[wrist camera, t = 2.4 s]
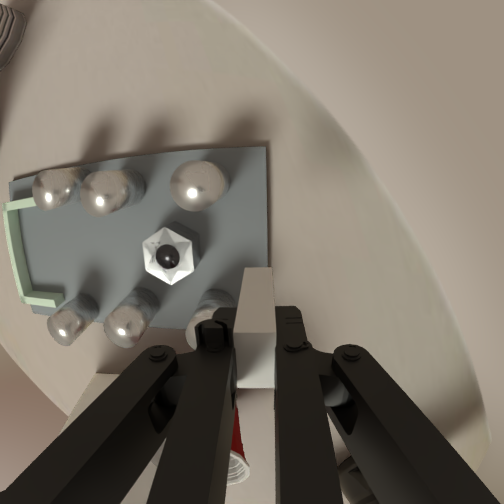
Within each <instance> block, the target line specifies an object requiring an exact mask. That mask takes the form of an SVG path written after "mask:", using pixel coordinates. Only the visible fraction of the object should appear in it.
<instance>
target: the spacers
mask: <svg viewBox="0 0 504 504" xmlns="http://www.w3.org/2000/svg"><path fill="white" fill-rule="evenodd" d="M229 186H230V177H229V174H228V172H227V170H226V169H225V168H224V167H223V166H222V165H220V164H218V163H215V162H208V161H198V160H192V161H187V162H185V163H183V164H181V165H180V166H179V167H177V169H176V170H175V171H174V173H173V174H172V177H171V180H170V192H171V196H172V198H173V200H174V201H175V203H176V204H177V205H178V206H180V207H181V208H183V209H185V210H188V211H194V212H196V211H202V210H204V209H206V208H208V207H210V206H211V205H212V204H214V203H215V202H217V201H218V200H219V199H221V198H222V197H223V196H225V194H226V193H227V191H228V189H229ZM145 193H146V182H145V179H144V177H143V176H142V175H141V174H140V173H139V172H138V171H136V170H133V169H127V170H111V171H98V172H93V173H91V172H90V171H89V170H88V169H87V168H85V167H74V168H61V169H50V170H43V171H41V172H39V173H38V174H37V175H36V177H35V179H34V182H33V186H32V195H33V199H34V202H35V204H36V205H37V206H38V208H40V209H41V210H44V211H47V210H51V209H54V208H58V207H62V206H65V205H69V204H73V203H77V202H81V203H82V206H83V208H84V209H85V210H86V212H87V213H89V214H90V215H92V216H94V217H103V216H105V215H108V214H111V213H114V212H117V211H120V210H123V209H126V208H129V207H131V206H135V205H137V204H138V203H140V202H141V201H142V199H143V198H144V196H145ZM159 306H160V305H159V301H158V298H157V296H156V295H155V294H154V293H153V292H152V291H151V290H149V289H147V288H144V287H138V288H135V289H133V290H132V291H131V292H130V293H129V294H128V295H127V296H126V297H125V298H124V299H123V300H122V301H121V302H120V303H119V304H118V306H117V307H116V308H115V309H114V310H113V311H112V312H111V313H110V314H109V315H108V316H107V317H106V318H105V320H104V331H105V333H106V335H107V337H108V338H109V339H110V340H111V341H112V342H113V343H114V344H116V345H118V346H120V347H123V348H131V347H133V346H135V345H136V343H137V342H138V341H139V339H140V338H141V336H142V335H143V333H144V332H145V330H146V329H147V327H148V326H149V324H150V323H151V321H152V320H153V319H154V317H155V316H156V314H157V313H158V311H159ZM219 307H235V301H234V299H233V297H232V296H231V295H230V294H229V293H228V292H226V291H225V290H222V289H210V290H208V291H206V292H205V293H204V294H203V295H202V297H201V299H200V301H199V303H198V305H197V307H196V309H195V311H194V313H193V316H192V318H191V320H190V322H189V324H188V326H187V329H186V332H185V337H186V340H187V342H188V344H189V345H190V346H191V348H193V349H194V350H196V348H197V343H196V336H195V329H194V327H195V326H196V325H197V324H198V323H199V322H201V321H204V320H207V319H212V316H213V313H214V312H215V311H216V310H217V309H218V308H219ZM98 315H99V307H98V304H97V302H96V301H95V299H94V298H93V297H92V296H90V295H89V294H87V293H79V294H78V295H77V296H75V297H74V298H73V299H71V300H70V301H69V302H68V303H66V304H65V305H64V306H63V307H61V308H60V309H59V310H58V311H56V312H55V313H54V314H53V315H51V316H50V317H49V318H48V320H47V327H48V330H49V332H50V334H51V336H52V337H53V338H54V340H55V341H57V342H58V343H59V344H61V345H63V346H70V345H71V344H72V343H73V342H74V341H75V340H76V339H77V338H78V337H79V336H80V335H81V334H82V333H83V332H84V331H85V330H86V329H87V327H88V326H89V325H90V324H91V323H92V322H93V321H94V320H95V319H96V318H97V317H98Z"/></svg>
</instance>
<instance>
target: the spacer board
mask: <svg viewBox="0 0 504 504" xmlns="http://www.w3.org/2000/svg"><path fill="white" fill-rule="evenodd" d="M192 160H198V161H208V162H215V163H218V164H220V165H222V166H223V167H224V168H225V169H226V170H227V172H228V174H229V177H230V186H229V189H228V191H227V193H226V194H225V196H223V197H222V198H221V199H219V200H218V201H217V202H215V203H214V204H212V205H211V206H210V207H208V208H206V209H204V210H202V211H196V212H194V211H188V210H185V209H183V208H181V207H180V206H178V205H177V204H176V203H175V201H174V200H173V198H172V196H171V192H170V180H171V177H172V174H173V173H174V171H175V170H176V169H177V167H179V166H180V165H181V164H183V163H185V162H187V161H192ZM74 167H85V168H87V169H88V170H89V171H90V172H91V173H93V172H98V171H111V170H127V169H133V170H136V171H138V172H139V173H140V174H141V175H142V176H143V177H144V179H145V182H146V193H145V196H144V198H143V199H142V201H141V202H140V203H138V204H137V205H135V206H131V207H129V208H126V209H123V210H120V211H117V212H114V213H111V214H108V215H105V216H103V217H94V216H92V215H90V214H89V213H87V212H86V210H85V209H84V208H83V206H82V203H81V202H77V203H73V204H69V205H65V206H62V207H58V208H54V209H51V210H47V211H44V210H41V209H40V208H38V206H33V207H27V208H21V209H18V218H19V225H20V232H21V238H22V244H23V249H24V255H25V259H26V264H27V269H28V273H29V277H30V281H31V285H32V289H33V291H42V292H53V293H63V295H64V299H65V301H64V302H63V303H62V304H60V305H59V306H58V307H56V308H54V307H46V306H39V305H32V304H30V305H31V308H32V311H33V313H35V314H41V315H48V316H51V315H53V314H54V313H55V312H56V311H58V310H59V309H60V308H61V307H63V306H64V305H65V304H66V303H68V302H69V301H70V300H71V299H73V298H74V297H75V296H77V295H78V294H79V293H87V294H89V295H90V296H92V297H93V298H94V299H95V301H96V302H97V304H98V307H99V315H98V317H97V318H96V319H95V320H94V321H93V322H100V323H104V320H105V318H106V317H107V316H108V315H109V314H110V313H111V312H112V311H113V310H114V309H115V308H116V307H117V306H118V304H119V303H120V302H121V301H122V300H123V299H124V298H125V297H126V296H127V295H128V294H129V293H130V292H131V291H132V290H133V289H135V288H138V287H144V288H147V289H149V290H151V291H152V292H153V293H154V294H155V295H156V296H157V298H158V301H159V305H160V306H159V311H158V313H157V314H156V316H155V317H154V319H153V320H152V321H151V323H150V324H149V326H148V327H155V328H170V329H187V326H188V324H189V322H190V320H191V318H192V316H193V313H194V311H195V309H196V307H197V305H198V303H199V301H200V299H201V297H202V295H203V294H204V293H205V292H206V291H208V290H210V289H222V290H225V291H226V292H228V293H229V294H230V295H231V296H232V297H233V299H234V301H235V307H238V303H239V297H240V291H241V286H242V280H243V275H244V269H245V268H253V267H268V255H267V185H266V147H232V148H213V149H199V150H186V151H175V152H166V153H157V154H148V155H140V156H133V157H126V158H119V159H113V160H107V161H101V162H95V163H89V164H84V165H79V166H74ZM74 167H69V168H74ZM35 177H36V175H34V176H30V177H26V178H23V179H19V180H15V181H12V182H9V194H10V202H11V201H15V200H20V199H25V198H30V197H33V195H32V186H33V182H34V179H35ZM173 221H177V222H179V223H181V224H183V225H184V226H186V227H188V228H190V229H192V230H194V231H196V232H197V233H199V237H200V251H201V261H200V263H199V264H198V266H197V267H196V269H195V270H194V271H193V272H192V273H190V274H188V275H187V276H185V277H183V278H182V279H180V280H178V281H177V282H175V283H173V284H172V285H170V284H168V283H167V282H165V281H163V280H161V279H159V278H158V277H156V276H154V275H152V274H151V273H149V272H147V271H146V267H145V260H144V252H143V244H142V242H144V241H145V240H147V239H148V238H149V237H151V236H152V235H154V234H155V233H157V232H158V231H160V230H161V229H162V228H164V227H165V226H167V225H169V224H170V223H172V222H173Z"/></svg>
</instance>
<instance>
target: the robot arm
mask: <svg viewBox="0 0 504 504" xmlns="http://www.w3.org/2000/svg"><path fill="white" fill-rule="evenodd" d="M194 329H195V336H196V343H197V348H196V350H195V351H193V352H189V353H184V354H177V355H176V353H175V350H174V349H173V348H171V347H169V346H164V345H158V346H153V347H150V348H148V349H146V350H145V351H143V352H142V353H141V354H140V355H139V356H138V357H137V358H136V359H135V360H134V361H133V362H132V363H131V364H130V365H129V366H128V367H127V368H126V369H125V370H124V371H123V372H122V373H121V374H120V375H119V376H118V377H117V378H116V379H115V380H114V381H113V382H112V383H111V384H110V385H109V386H108V387H107V388H106V389H105V390H104V391H103V392H102V393H101V394H100V395H99V396H98V397H97V398H96V399H95V400H94V401H93V402H92V403H91V404H90V405H89V406H88V407H87V408H86V409H85V410H84V411H83V412H82V413H81V414H80V415H79V416H78V417H77V418H76V419H75V420H74V421H73V422H72V423H71V424H70V425H69V426H68V427H67V428H66V429H65V430H64V431H63V432H62V433H61V434H60V435H59V436H58V437H57V438H56V439H55V440H54V441H53V442H52V443H51V444H50V445H49V446H48V447H47V448H46V449H45V450H44V451H43V452H42V453H41V454H40V455H39V456H38V457H37V458H36V459H35V460H34V461H33V462H32V463H31V464H30V466H28V467H27V468H26V469H25V470H24V471H23V472H22V473H21V474H20V475H19V476H18V478H16V480H15V481H14V482H13V483H12V484H11V485H10V486H9V487H8V488H7V489H6V490H4V491H2V492H0V504H120V503H121V502H122V501H123V499H124V498H125V496H126V495H127V494H128V492H129V491H130V489H131V488H132V487H133V485H134V484H135V482H136V481H137V480H138V478H139V477H140V475H141V474H142V472H143V471H144V469H145V468H146V467H147V465H148V464H149V462H150V461H151V459H152V458H153V456H154V455H155V454H156V452H157V451H158V449H159V448H160V446H161V445H162V443H163V442H164V440H165V439H166V441H165V444H164V447H163V450H162V454H161V457H160V460H159V463H158V466H157V470H156V473H155V476H154V479H153V483H152V486H151V489H150V492H149V496H148V499H147V502H146V504H225V495H226V487H227V478H228V469H229V460H230V452H231V443H232V434H233V425H234V417H235V408H236V399H237V394H236V384H237V388H275V390H274V410H275V472H276V504H343V498H342V492H343V494H344V495H345V497H346V498H347V500H348V501H349V502H350V504H500V503H499V502H498V500H497V499H496V498H495V497H494V495H493V494H492V493H491V492H490V491H489V489H488V488H487V487H486V486H485V485H484V483H483V482H482V481H481V480H480V479H479V477H478V476H477V475H476V474H475V473H474V471H473V470H472V469H471V468H470V467H469V466H468V464H467V463H466V462H465V461H464V460H463V458H462V457H461V456H460V455H459V454H458V453H457V451H456V450H455V449H454V448H453V447H452V446H451V444H450V443H449V442H448V441H447V440H446V439H445V438H444V436H443V435H442V434H441V433H440V432H439V431H438V430H437V428H436V427H435V426H434V425H433V424H432V423H431V422H430V420H429V419H428V418H427V417H426V416H425V415H424V414H423V412H422V411H421V410H420V409H419V408H418V407H417V406H416V404H415V403H414V402H413V401H412V400H411V399H410V398H409V397H408V395H407V394H406V393H405V392H404V391H403V390H402V389H401V388H400V387H399V385H398V384H397V383H396V382H395V381H394V380H393V379H392V378H391V377H390V375H389V374H388V373H387V372H386V371H385V370H384V369H383V368H382V367H381V365H380V364H379V363H378V362H377V361H376V360H375V359H374V358H373V357H372V355H371V354H370V353H369V352H368V351H367V350H366V349H364V348H363V347H360V346H358V345H352V344H347V345H342V346H339V347H337V348H336V349H335V350H334V353H333V354H331V353H325V352H320V351H317V350H315V349H314V348H312V345H311V343H310V342H309V341H307V337H306V332H305V328H304V323H303V319H302V315H301V311H300V310H299V309H298V308H297V307H296V306H275V303H274V289H273V274H272V267H253V268H245V269H244V275H243V280H242V286H241V291H240V297H239V303H238V307H219V308H218V309H217V310H216V311H215V312H214V313H213V316H212V319H207V320H204V321H201V322H199V323H198V324H197V325H196V326H195V327H194ZM326 411H327V412H326ZM327 413H328V415H329V417H330V418H331V420H332V422H333V424H334V426H335V427H336V429H337V431H338V433H339V434H340V436H341V438H342V440H343V441H344V443H345V445H346V447H347V448H348V450H349V452H350V453H351V455H352V456H351V457H350V458H348V459H347V460H345V461H344V462H343V463H342V464H341V465H340V466H339V467H338V469H337V463H336V458H335V453H334V447H333V442H332V437H331V432H330V427H329V422H328V417H327ZM166 437H167V438H166ZM341 491H342V492H341Z"/></svg>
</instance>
